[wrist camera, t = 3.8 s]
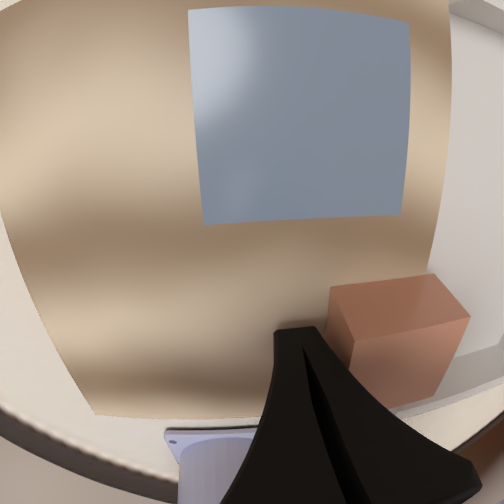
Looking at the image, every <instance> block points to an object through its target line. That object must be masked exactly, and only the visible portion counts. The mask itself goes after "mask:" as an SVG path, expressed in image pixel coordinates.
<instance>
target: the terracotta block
mask: <svg viewBox="0 0 504 504" xmlns="http://www.w3.org/2000/svg"><path fill="white" fill-rule="evenodd" d="M470 318H471V316H470V315H469V313H468V312H467V311H466V310H465V309H464V307H463V306H462V305H461V304H460V303H459V301H458V300H457V299H456V298H455V297H454V296H453V294H452V293H451V292H450V291H449V290H448V289H447V288H446V286H445V285H444V284H443V283H442V282H441V281H440V280H439V278H438V277H437V276H436V275H435V274H434V273H433V274H427V275H420V276H413V277H405V278H398V279H391V280H383V281H375V282H367V283H359V284H351V285H343V286H334V287H330V294H329V305H328V314H327V323H326V332H325V341H326V342H327V344H328V345H329V346H330V348H331V349H332V350H333V352H334V353H335V354H336V356H337V357H338V358H339V359H340V361H341V362H342V363H343V364H344V365H345V366H346V368H347V369H348V370H349V371H350V372H351V373H352V375H353V376H354V377H355V378H356V379H357V380H358V381H359V382H360V383H361V384H362V385H363V386H364V387H365V388H366V389H367V391H368V392H369V393H370V394H372V395H373V396H374V397H375V398H376V399H377V400H378V401H379V402H380V403H381V404H382V405H383V406H385V407H386V408H387V409H391V408H395V407H399V406H402V405H406V404H409V403H413V402H416V401H419V400H423V399H426V398H429V397H432V396H434V394H435V392H436V390H437V389H438V387H439V385H440V383H441V381H442V379H443V377H444V375H445V373H446V371H447V369H448V367H449V365H450V363H451V361H452V359H453V357H454V355H455V353H456V350H457V348H458V346H459V344H460V342H461V339H462V337H463V335H464V332H465V330H466V328H467V325H468V323H469V320H470Z"/></svg>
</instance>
